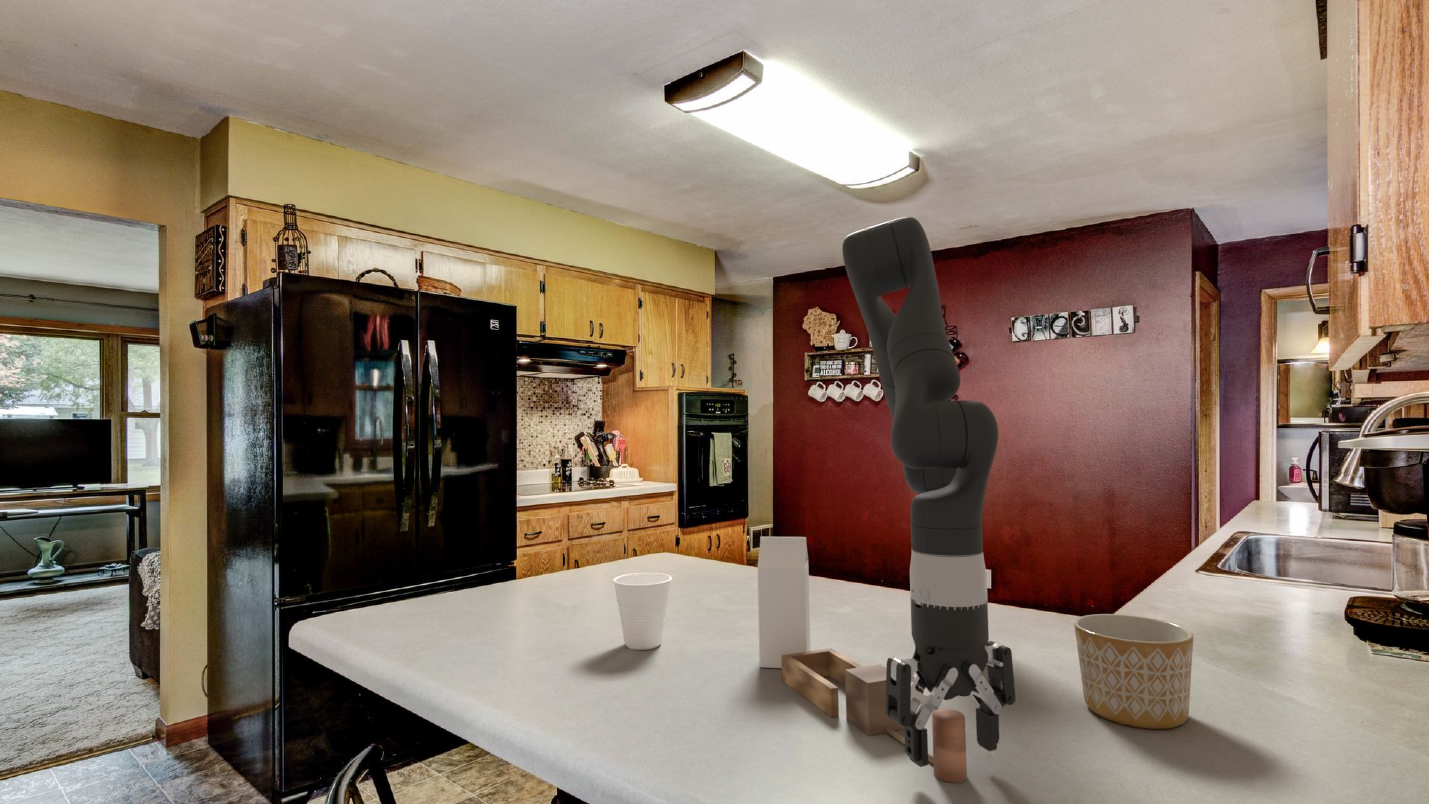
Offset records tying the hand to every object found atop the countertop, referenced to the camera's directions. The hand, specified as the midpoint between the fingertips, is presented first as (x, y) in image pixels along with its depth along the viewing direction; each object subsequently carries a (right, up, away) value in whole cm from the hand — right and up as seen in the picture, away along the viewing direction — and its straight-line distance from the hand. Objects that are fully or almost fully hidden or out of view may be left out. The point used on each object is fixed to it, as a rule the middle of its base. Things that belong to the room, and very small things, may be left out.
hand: (953, 755), depth 71 cm
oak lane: (-9, -3, +23) cm, 25 cm away
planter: (+27, -2, +15) cm, 31 cm away
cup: (-36, -5, +46) cm, 58 cm away
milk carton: (-13, -4, +36) cm, 39 cm away
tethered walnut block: (-3, -2, +7) cm, 8 cm away
